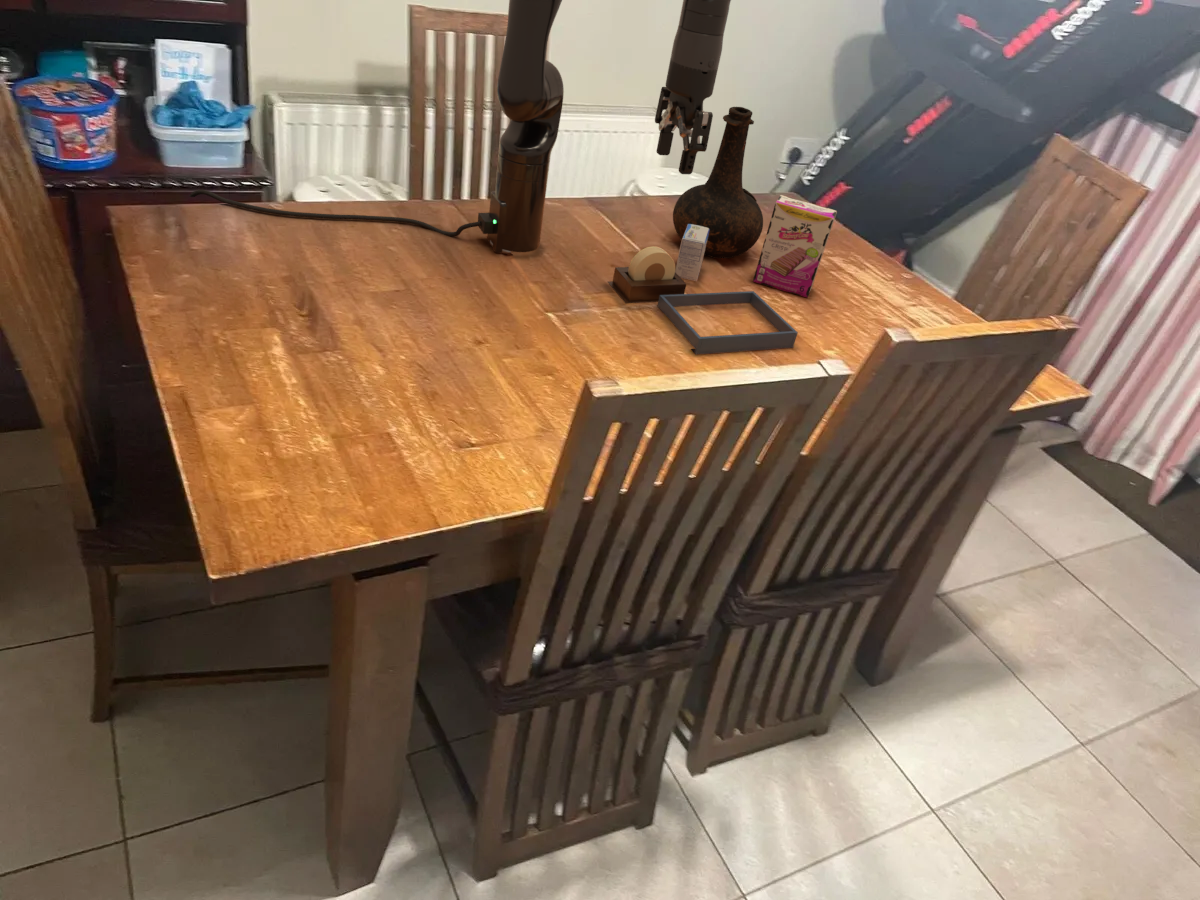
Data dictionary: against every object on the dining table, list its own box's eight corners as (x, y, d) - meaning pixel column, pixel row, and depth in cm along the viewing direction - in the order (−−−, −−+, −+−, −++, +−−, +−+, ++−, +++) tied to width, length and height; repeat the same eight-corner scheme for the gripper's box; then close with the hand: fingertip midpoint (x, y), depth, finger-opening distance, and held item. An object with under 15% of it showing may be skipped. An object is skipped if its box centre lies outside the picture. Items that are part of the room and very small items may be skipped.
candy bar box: (751, 283, 177) (774, 201, 167) (756, 273, 181) (779, 193, 171) (808, 299, 175) (834, 217, 165) (812, 289, 179) (837, 209, 169)
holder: (687, 305, 164) (691, 285, 162) (624, 308, 159) (628, 287, 157) (667, 284, 170) (671, 264, 168) (606, 286, 166) (609, 265, 163)
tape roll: (670, 293, 165) (679, 251, 160) (630, 294, 162) (638, 252, 157) (664, 286, 167) (673, 245, 162) (624, 288, 164) (632, 246, 159)
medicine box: (695, 286, 172) (706, 242, 167) (672, 280, 172) (682, 237, 167) (700, 269, 178) (710, 227, 173) (678, 264, 178) (687, 222, 173)
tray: (695, 354, 150) (699, 338, 148) (656, 310, 161) (659, 294, 159) (793, 347, 157) (797, 332, 156) (749, 305, 168) (753, 291, 167)
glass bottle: (771, 262, 186) (810, 123, 170) (704, 273, 177) (740, 127, 161) (715, 227, 198) (747, 93, 181) (650, 236, 188) (677, 95, 172)
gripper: (653, 46, 145) (635, 148, 155) (694, 72, 135) (672, 180, 145) (695, 49, 148) (675, 149, 158) (737, 75, 138) (713, 180, 147)
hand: (673, 163), depth 151 cm, fingers open, 8 cm apart
